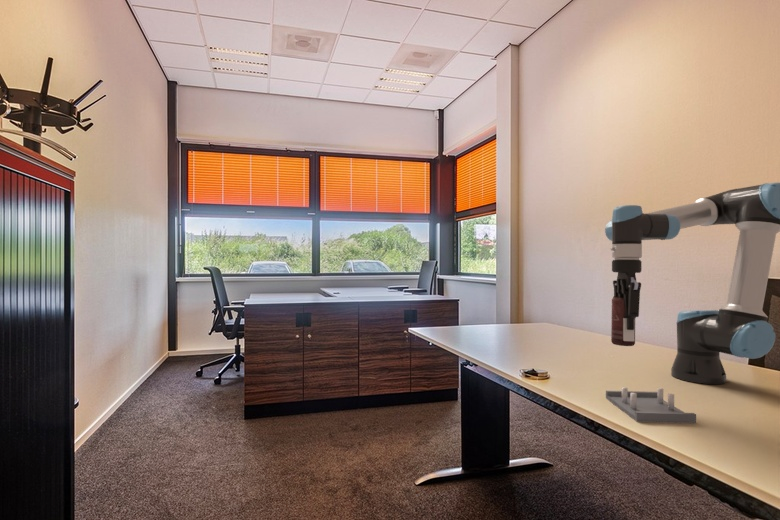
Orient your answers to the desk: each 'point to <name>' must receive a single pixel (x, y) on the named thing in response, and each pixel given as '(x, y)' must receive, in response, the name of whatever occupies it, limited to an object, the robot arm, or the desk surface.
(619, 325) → the can
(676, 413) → the tray
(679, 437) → the desk surface
